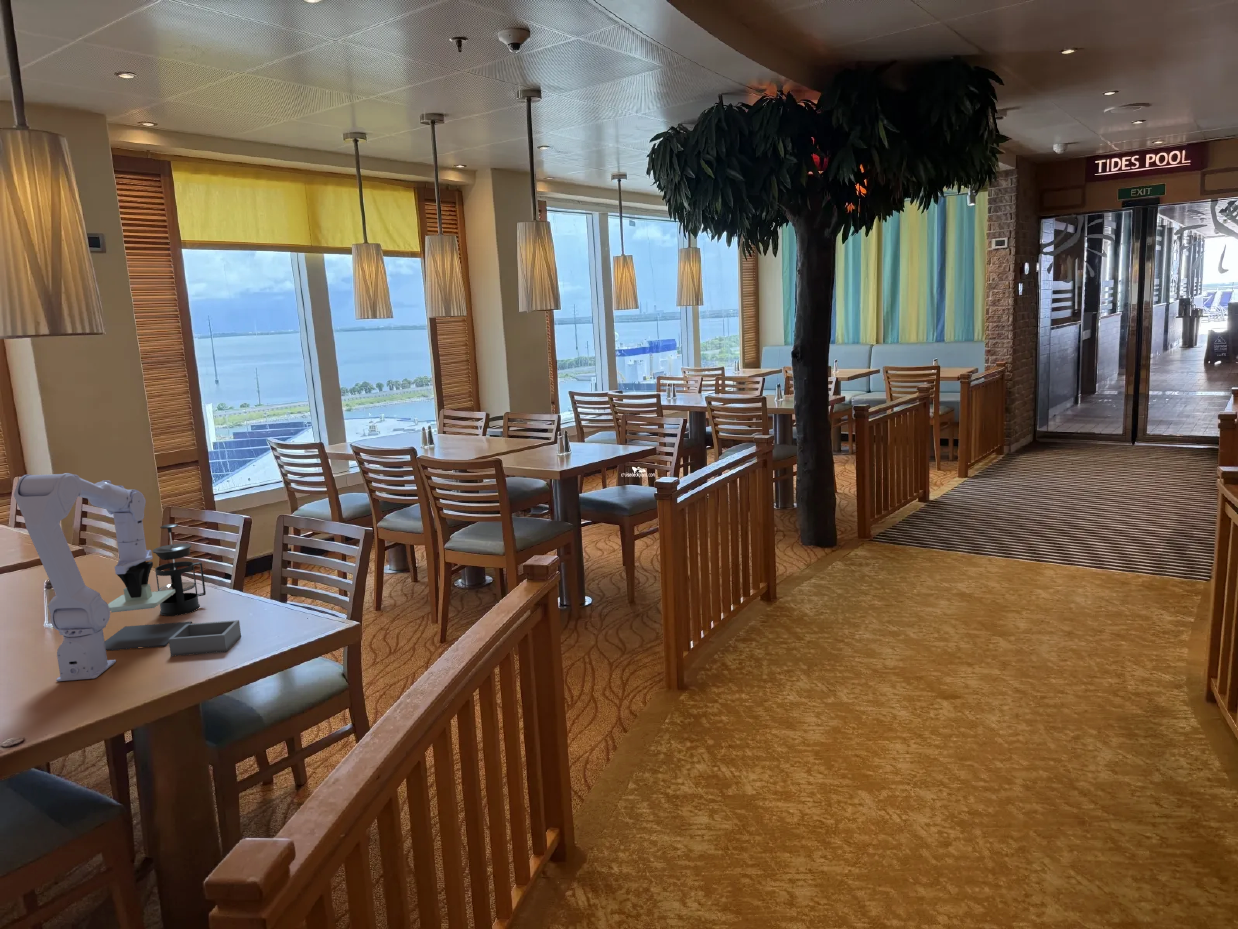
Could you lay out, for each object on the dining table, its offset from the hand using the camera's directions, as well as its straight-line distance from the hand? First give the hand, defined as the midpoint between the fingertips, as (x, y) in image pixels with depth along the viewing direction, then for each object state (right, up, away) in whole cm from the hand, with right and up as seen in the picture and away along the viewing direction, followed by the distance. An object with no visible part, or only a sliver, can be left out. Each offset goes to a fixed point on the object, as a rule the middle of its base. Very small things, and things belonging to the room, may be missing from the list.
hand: (138, 595), depth 203 cm
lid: (0, -2, 0) cm, 2 cm away
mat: (0, -10, +2) cm, 10 cm away
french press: (-1, -7, +21) cm, 23 cm away
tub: (+19, -11, -6) cm, 23 cm away
